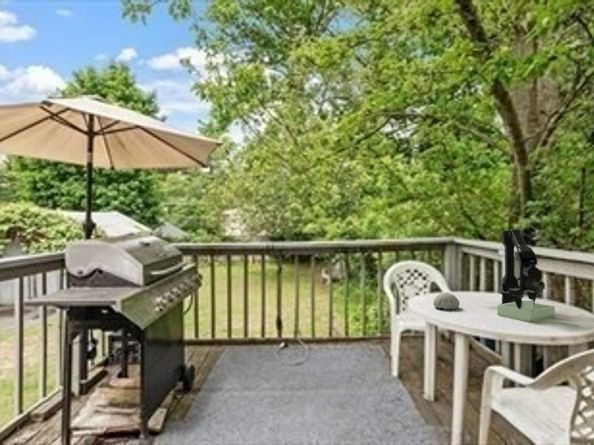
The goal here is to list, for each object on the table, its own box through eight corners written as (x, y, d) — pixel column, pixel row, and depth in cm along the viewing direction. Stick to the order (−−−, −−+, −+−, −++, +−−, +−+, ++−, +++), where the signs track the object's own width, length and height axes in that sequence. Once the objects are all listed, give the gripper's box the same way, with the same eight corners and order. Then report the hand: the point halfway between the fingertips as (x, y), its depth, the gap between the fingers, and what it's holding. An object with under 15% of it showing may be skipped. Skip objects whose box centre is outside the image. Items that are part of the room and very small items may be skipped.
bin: (521, 310, 291) (521, 300, 290) (554, 316, 275) (554, 306, 275) (497, 315, 281) (497, 305, 281) (530, 322, 266) (530, 311, 265)
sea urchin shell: (431, 305, 307) (430, 291, 307) (456, 305, 307) (456, 290, 306) (436, 311, 294) (436, 295, 294) (462, 310, 294) (462, 295, 293)
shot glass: (515, 312, 281) (515, 298, 281) (529, 312, 282) (529, 298, 281) (522, 315, 274) (522, 301, 274) (536, 315, 275) (536, 300, 275)
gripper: (527, 279, 265) (527, 313, 266) (552, 275, 275) (552, 308, 276) (507, 276, 275) (507, 309, 276) (532, 273, 285) (532, 304, 285)
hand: (525, 307), depth 278 cm, fingers open, 9 cm apart
